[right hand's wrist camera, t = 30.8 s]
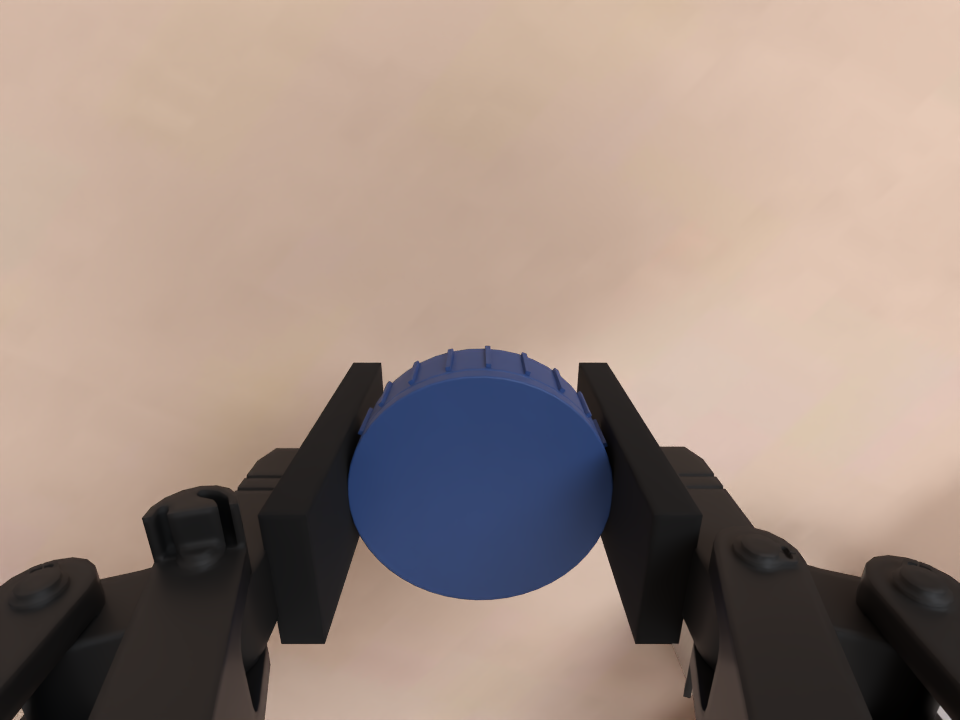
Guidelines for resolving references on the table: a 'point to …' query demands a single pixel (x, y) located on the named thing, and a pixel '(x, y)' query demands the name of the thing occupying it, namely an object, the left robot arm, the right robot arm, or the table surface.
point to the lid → (480, 476)
